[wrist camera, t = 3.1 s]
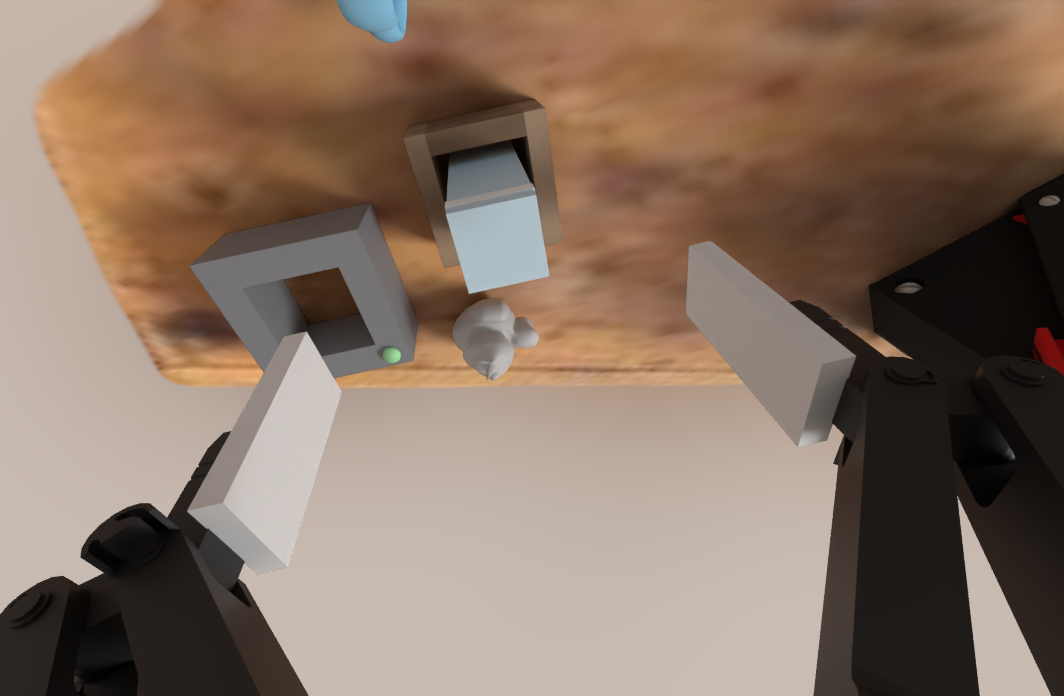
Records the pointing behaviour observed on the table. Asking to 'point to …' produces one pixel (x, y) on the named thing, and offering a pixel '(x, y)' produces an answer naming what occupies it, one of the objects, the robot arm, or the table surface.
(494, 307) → the rubber duck
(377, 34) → the decorative pot
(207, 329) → the table surface
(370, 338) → the port
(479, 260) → the plug
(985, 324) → the electrical component
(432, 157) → the holster
